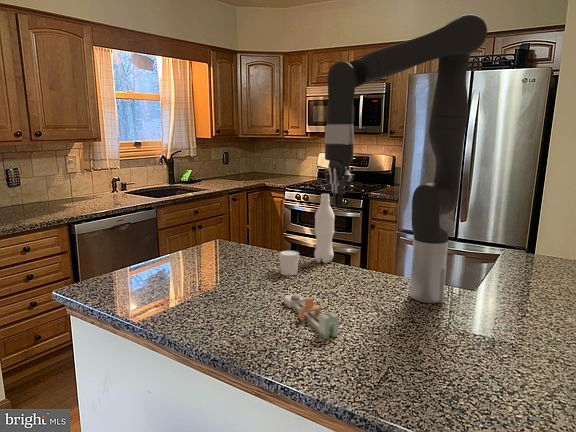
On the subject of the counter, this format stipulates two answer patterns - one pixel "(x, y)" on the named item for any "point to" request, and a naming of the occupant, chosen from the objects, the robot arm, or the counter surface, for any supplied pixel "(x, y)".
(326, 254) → the water bottle
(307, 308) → the stepped wooden block
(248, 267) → the counter surface
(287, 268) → the shot glass
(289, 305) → the block
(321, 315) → the leg
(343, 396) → the counter surface
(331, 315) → the leg
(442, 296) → the robot arm
